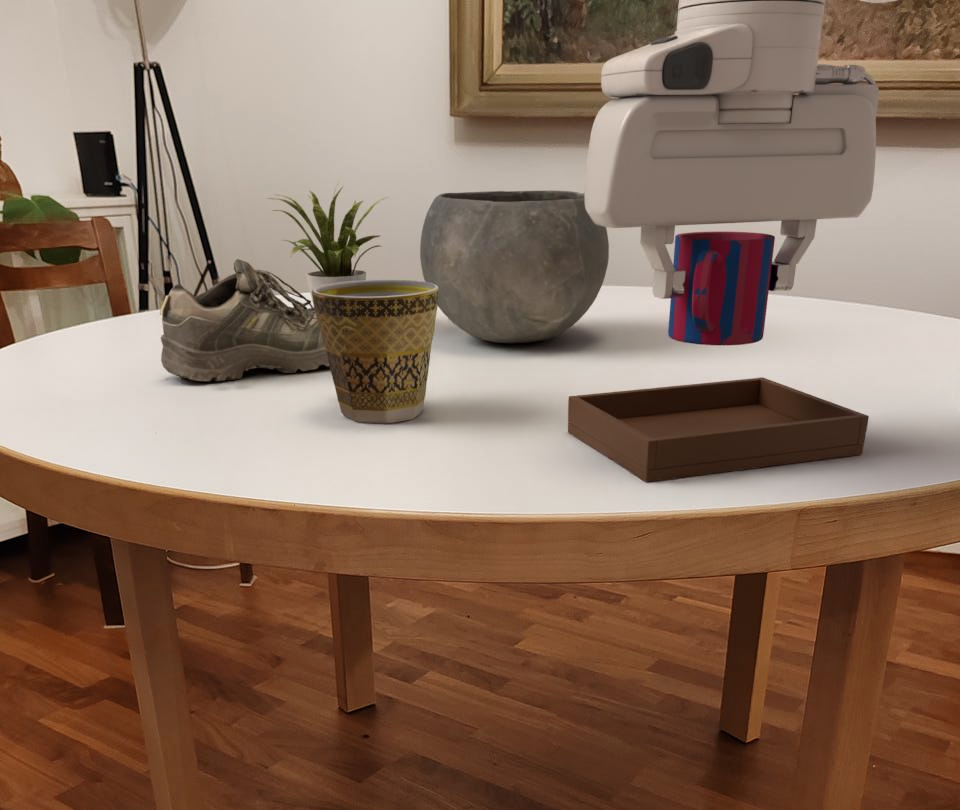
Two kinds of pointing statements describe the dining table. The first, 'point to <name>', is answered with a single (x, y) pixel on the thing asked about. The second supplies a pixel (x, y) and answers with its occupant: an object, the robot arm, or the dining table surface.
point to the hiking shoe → (239, 329)
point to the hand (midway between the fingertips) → (722, 293)
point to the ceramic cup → (378, 345)
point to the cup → (721, 287)
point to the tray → (714, 427)
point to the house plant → (331, 243)
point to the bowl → (513, 262)
